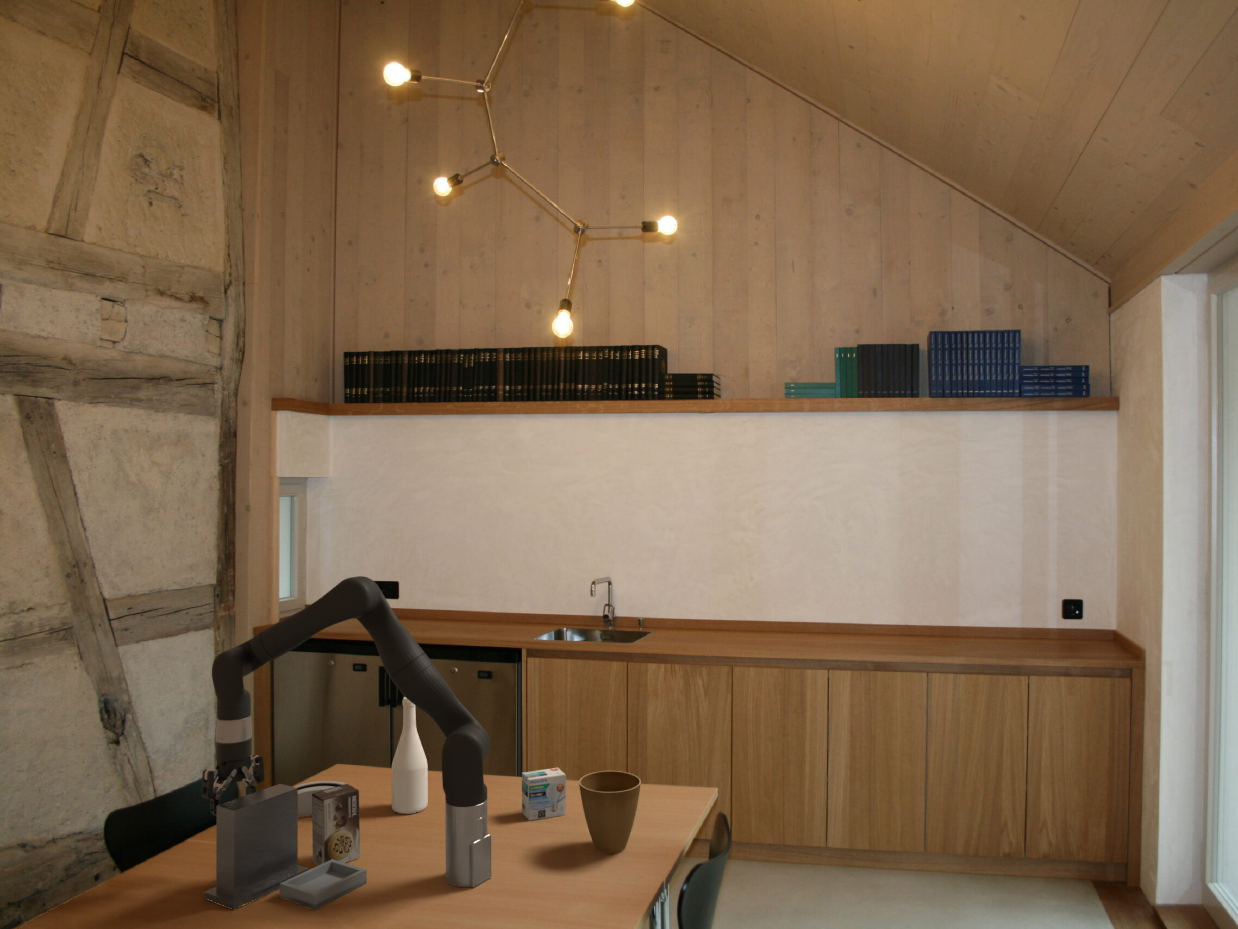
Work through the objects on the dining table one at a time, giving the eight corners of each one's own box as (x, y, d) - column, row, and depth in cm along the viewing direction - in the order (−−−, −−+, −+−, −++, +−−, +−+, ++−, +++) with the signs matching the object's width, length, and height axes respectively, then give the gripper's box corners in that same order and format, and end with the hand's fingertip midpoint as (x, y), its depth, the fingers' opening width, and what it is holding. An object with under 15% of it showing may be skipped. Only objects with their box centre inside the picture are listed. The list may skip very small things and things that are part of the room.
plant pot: (566, 848, 210) (566, 781, 210) (609, 830, 221) (608, 766, 221) (611, 866, 200) (611, 795, 200) (654, 846, 211) (653, 779, 211)
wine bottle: (411, 800, 244) (411, 691, 245) (435, 807, 239) (434, 696, 240) (384, 810, 237) (383, 698, 237) (407, 817, 231) (407, 703, 232)
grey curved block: (351, 805, 241) (350, 774, 238) (350, 817, 236) (350, 786, 233) (286, 811, 236) (285, 780, 233) (284, 824, 232) (283, 792, 229)
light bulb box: (528, 821, 228) (528, 779, 228) (520, 812, 234) (520, 772, 234) (567, 815, 232) (566, 773, 232) (558, 806, 238) (558, 766, 238)
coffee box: (347, 850, 210) (347, 782, 211) (360, 858, 206) (360, 789, 206) (311, 862, 204) (311, 792, 204) (323, 870, 199) (323, 799, 200)
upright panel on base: (309, 875, 197) (309, 787, 197) (233, 910, 181) (233, 814, 181) (280, 865, 202) (280, 780, 203) (204, 899, 186) (204, 806, 186)
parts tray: (366, 883, 192) (366, 869, 192) (314, 910, 180) (314, 895, 181) (332, 872, 198) (332, 859, 198) (279, 897, 186) (279, 883, 186)
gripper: (215, 747, 190) (215, 822, 190) (271, 731, 202) (271, 802, 202) (194, 742, 194) (194, 816, 194) (250, 727, 206) (250, 796, 206)
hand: (233, 809), depth 198 cm, fingers open, 8 cm apart
